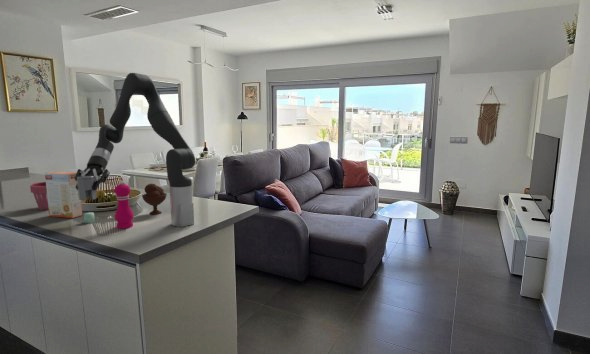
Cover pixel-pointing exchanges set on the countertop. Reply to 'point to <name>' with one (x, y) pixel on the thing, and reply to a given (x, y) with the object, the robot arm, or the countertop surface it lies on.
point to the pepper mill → (123, 206)
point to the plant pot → (40, 195)
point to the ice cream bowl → (154, 197)
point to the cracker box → (63, 195)
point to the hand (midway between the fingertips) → (85, 189)
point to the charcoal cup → (86, 187)
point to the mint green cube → (89, 217)
